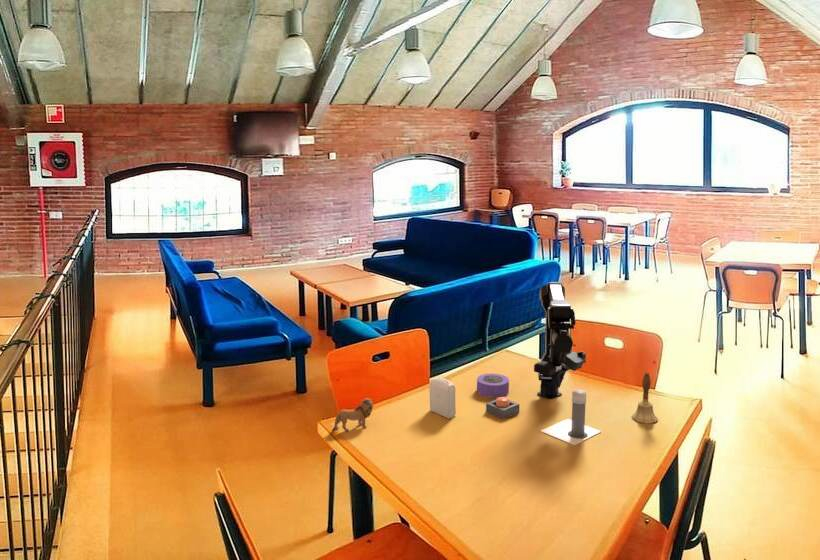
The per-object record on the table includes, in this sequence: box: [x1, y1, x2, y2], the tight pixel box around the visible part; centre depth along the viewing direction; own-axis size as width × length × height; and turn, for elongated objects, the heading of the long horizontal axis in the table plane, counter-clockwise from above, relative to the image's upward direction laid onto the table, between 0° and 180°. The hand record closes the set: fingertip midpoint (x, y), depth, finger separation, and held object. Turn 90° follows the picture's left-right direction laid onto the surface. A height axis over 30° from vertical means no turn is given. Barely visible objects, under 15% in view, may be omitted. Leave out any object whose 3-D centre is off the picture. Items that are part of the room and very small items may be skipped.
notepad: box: [540, 418, 602, 446], centre depth 213 cm, size 14×13×1 cm
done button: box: [495, 396, 511, 408], centre depth 228 cm, size 5×5×4 cm
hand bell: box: [631, 372, 659, 424], centre depth 220 cm, size 8×8×16 cm
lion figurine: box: [331, 398, 374, 432], centre depth 217 cm, size 15×5×9 cm, turn 119°
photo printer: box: [429, 377, 457, 419], centre depth 227 cm, size 10×4×12 cm, turn 40°
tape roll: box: [476, 373, 510, 398], centre depth 247 cm, size 12×12×5 cm
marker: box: [571, 389, 587, 437], centre depth 209 cm, size 4×4×14 cm
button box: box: [485, 399, 520, 420], centre depth 229 cm, size 8×8×3 cm
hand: (557, 387), depth 219 cm, fingers closed
